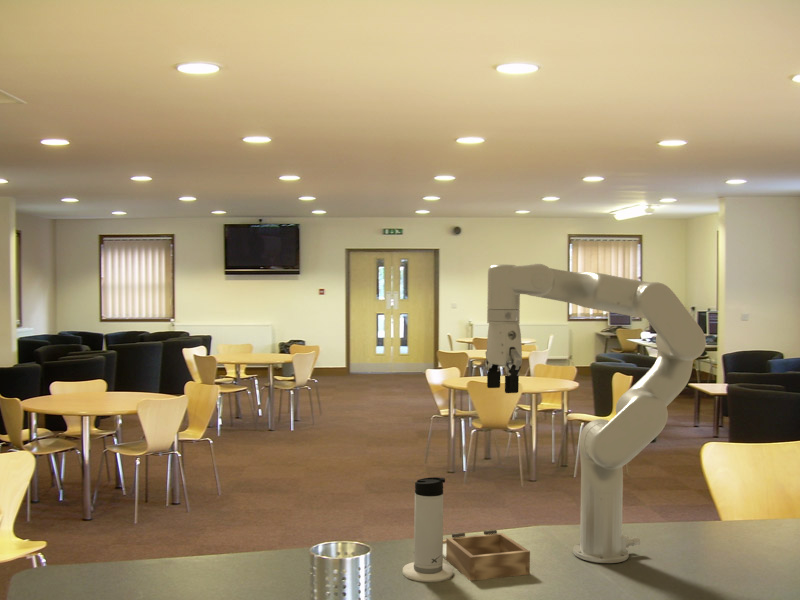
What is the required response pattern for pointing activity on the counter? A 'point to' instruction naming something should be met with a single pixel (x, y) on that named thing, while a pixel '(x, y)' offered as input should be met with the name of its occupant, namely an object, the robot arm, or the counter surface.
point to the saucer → (414, 575)
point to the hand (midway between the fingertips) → (502, 390)
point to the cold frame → (486, 555)
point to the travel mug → (428, 525)
